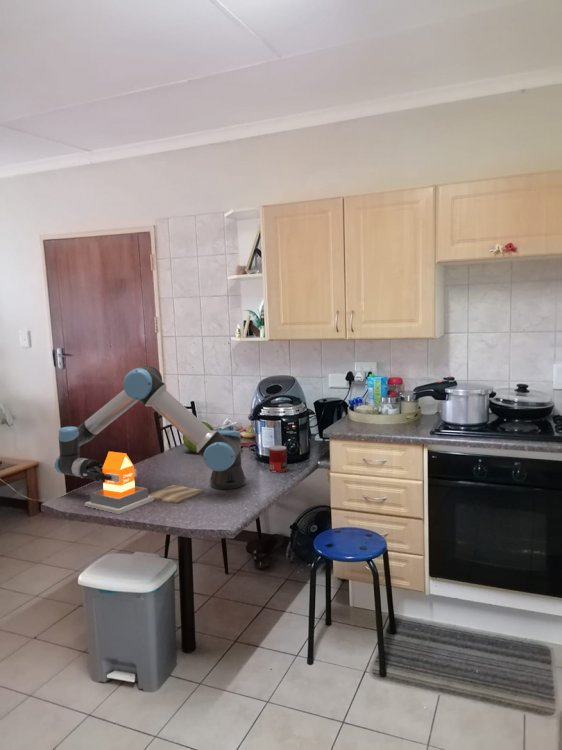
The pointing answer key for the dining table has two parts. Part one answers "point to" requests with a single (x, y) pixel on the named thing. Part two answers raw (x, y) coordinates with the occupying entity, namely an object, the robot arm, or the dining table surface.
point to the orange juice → (124, 469)
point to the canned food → (278, 458)
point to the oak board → (175, 493)
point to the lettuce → (189, 443)
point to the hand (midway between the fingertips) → (127, 475)
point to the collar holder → (119, 501)
